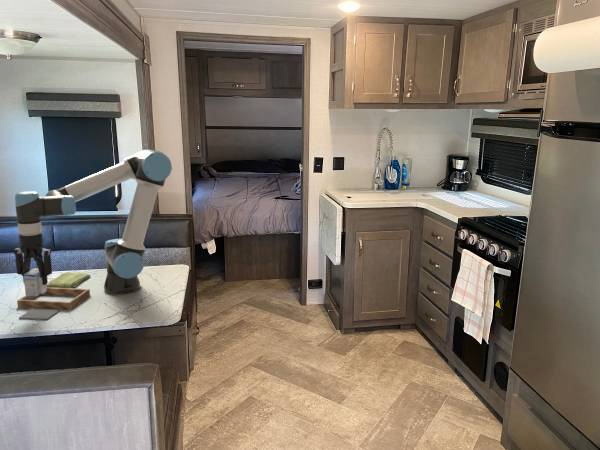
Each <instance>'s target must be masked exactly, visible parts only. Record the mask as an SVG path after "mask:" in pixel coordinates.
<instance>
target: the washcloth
mask: <svg viewBox="0 0 600 450" xmlns="http://www.w3.org/2000/svg"><path fill="white" fill-rule="evenodd" d="M90 277H91V274H88V273H82V272H78V271H77V272H70V271H67V272H64V273H62V274H60V275H58V276H56V278H54V279H53V278H52V279H51V280H50V281H48V283H47V287H51V288H74V289H76V288H77V287H78V286H79V285H81V284H82V283H83V282H84V281H86V280H87V279H89V278H90Z"/></svg>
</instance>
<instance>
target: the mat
mask: <svg viewBox="0 0 600 450" xmlns="http://www.w3.org/2000/svg"><path fill="white" fill-rule="evenodd" d="M61 311H62V309H46V308H31V309H30V310H28V311H27V312H25V313H24V314H22V315H20V316H19V317H18V319H19V320H30V321H31V320H32V321H33V320H35V321H48V320H50V319H52V318H53V317H54V316H55V315H57V314H58V313H60V312H61Z"/></svg>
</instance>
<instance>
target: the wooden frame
mask: <svg viewBox="0 0 600 450" xmlns="http://www.w3.org/2000/svg"><path fill="white" fill-rule="evenodd" d="M42 295H45V296H46V295H47V296H69V297H72V296H73V297H74V298H72V299H70V301H62V300H61V301H59V300H57V301H55V300H35V299H37V298H39V297H41V296H42ZM90 296H91V291H90V288H51V287H47V291H46V292H45V293H43V294H39V295H38V296H26V295H25V296H23V297H21V298H19V299H17V300H16V301H17V302H16V304H17V308H20V309H21V308H22V309H33V308H46V309H61V311H62V310H65V311H66V310H67V311H71V310H72V309H75V307H77V306H78V305H80V304H81V303H82V302H83V301H86V300H87V298H89V297H90Z"/></svg>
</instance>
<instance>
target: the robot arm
mask: <svg viewBox="0 0 600 450" xmlns="http://www.w3.org/2000/svg"><path fill="white" fill-rule="evenodd" d="M172 169H173V167H172V162H171V160H170V158H169V157H168V155H166V154H165V153H163V152H161V151H160V150H154V149H150V148H149V149H143V150H141V151H139V152H137V153H134V154H132V155H130V156H127V157H126V158H124V159H123V161H122V162H120V163H117V164H116V165H113V166H111V167H108V168H106V169H104V170H101V171H99V172H97V173H93V174H91V175H89V176H86V177H83V178H82V179H80V180H77V181H74V182H72V183H70V184H68V185H65V186H63V187H60V188H58V189H52V190H49V191H48V192H47V193H46V194H45V196H40V195H39V193H38V192H37V191H30V190H29V191H20V192H17V193H16V194H15V195H14V197H15V198H14V200H15V201H14V203H15V204H14V205H15V213H16V221H17V222H16V223H17V232H18V234H19V235H18V239H19V245H20V247H17V248H14V249H12V252H13V254H14V257H15V264H16V265H15V267H16V274H17V275H21V276H22V277H23V278H22V280H23V283H24V276H23V275H24V274H26V273H27V272H29V271H30V268H31V264H32V263H31V262H32V259H33V260H34V261H35V263H36V268H38V269H39V272H40V275H41V276H40V277H39V283H40V293H41V294H43V293H45V292H46V291H47V288H46V284H48V283H49V281H48V276H50V275H52V274H53V269H52V260H51V259H52V256H51V254H52V249H51V248H49V249H47V248H45V247H44V245H43V244H44V243H43V242H44V237H43V236H44V235H43V233H42V232H43V228H42V219H41V218H43V217H44V218H45V217H46V218H47V217H60V216H62V217H63V216H64V217H65V216H66V217H67V216H72V215H75V214H76V211H77V208H76V207H77V206H76V205H77V204H76V203H77V202H79V201H81V200H84V199H87V198H89V197H91V196H93V195H94V196H95V195H96V194H99V193H101V192H103V191H105V190H107V189H109V188H112V187H114V186H117V185H119V184H121V183H124V182H126V181H128V180H130V179H133V180H135V181H136V183H137V184H136V185H137V186H136V188H135V192H134V194H133V199H132V202H131V206H130V208H129V212H128V216H127V219H126V221H125V222H126V224H125V226H124V229H123V230H124V231H123V233H122V238H115V239H108V240H106V241H105V242H104V250H105V261H106V262H105V263H106V277H105V281H104V283H103V284H104V285H103V290H104V292H105V293H106V294H108V295H126V294H130V293H133V292H136V291H138V290H140V288H141V282H140V280H139V277H138V275H139V274H141V273H142V271H143V269H144V266H145V265H144V264H145V260H144V259H143V258H144V255H145V251H146V247H145V245H144V242H145V238H146V234H147V230H148V227H149V224H150V221H151V220H150V219H151V218H152V213H153V210H154V207H155V202H156V200H157V196H158V193H159V190H160V189H161V188H164V185H165V182H166V179H167V178H168V177H169V176H170V175H171V174H172V173H171V172H172Z"/></svg>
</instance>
